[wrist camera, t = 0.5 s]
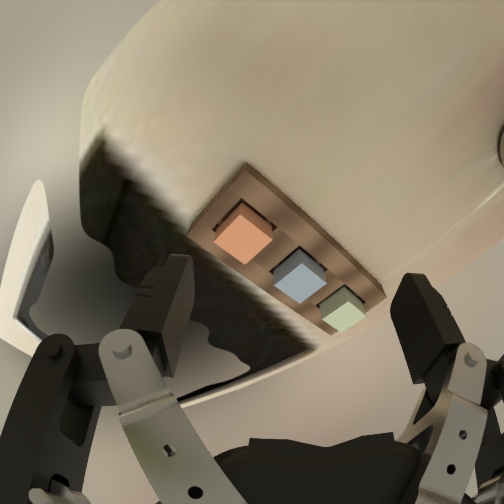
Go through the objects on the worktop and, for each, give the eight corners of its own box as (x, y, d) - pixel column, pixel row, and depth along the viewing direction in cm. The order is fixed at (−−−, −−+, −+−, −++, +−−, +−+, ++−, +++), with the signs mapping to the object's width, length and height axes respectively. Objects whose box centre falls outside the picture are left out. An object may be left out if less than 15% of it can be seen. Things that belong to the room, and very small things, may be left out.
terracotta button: (272, 226, 37) (272, 239, 35) (246, 250, 39) (245, 264, 37) (242, 202, 35) (240, 214, 33) (217, 228, 38) (213, 242, 35)
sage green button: (361, 301, 44) (366, 316, 42) (338, 318, 47) (341, 332, 44) (344, 286, 43) (348, 301, 40) (319, 304, 45) (321, 319, 42)
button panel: (381, 285, 46) (386, 297, 43) (328, 322, 51) (330, 335, 49) (246, 162, 35) (245, 169, 33) (191, 224, 41) (186, 235, 38)
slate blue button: (323, 268, 41) (326, 283, 38) (297, 288, 43) (299, 303, 40) (299, 248, 39) (301, 263, 36) (273, 270, 41) (274, 285, 39)
